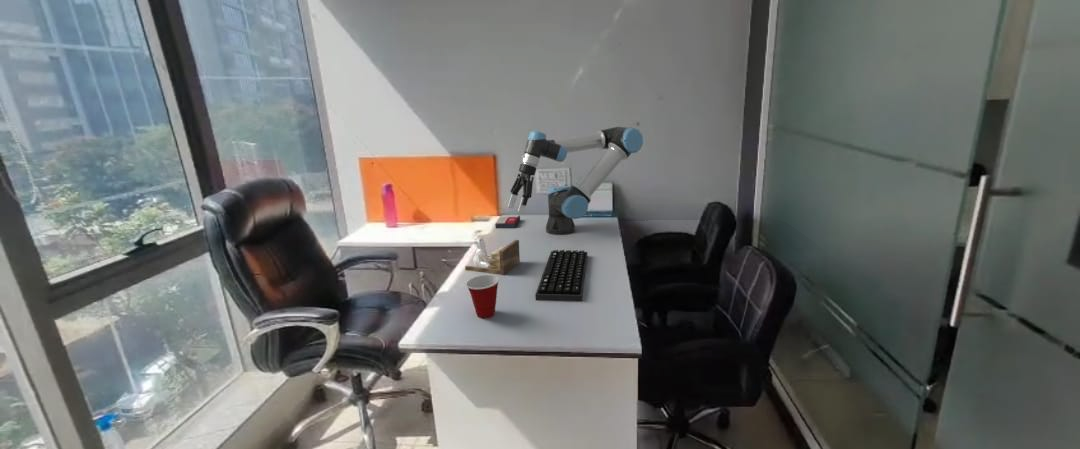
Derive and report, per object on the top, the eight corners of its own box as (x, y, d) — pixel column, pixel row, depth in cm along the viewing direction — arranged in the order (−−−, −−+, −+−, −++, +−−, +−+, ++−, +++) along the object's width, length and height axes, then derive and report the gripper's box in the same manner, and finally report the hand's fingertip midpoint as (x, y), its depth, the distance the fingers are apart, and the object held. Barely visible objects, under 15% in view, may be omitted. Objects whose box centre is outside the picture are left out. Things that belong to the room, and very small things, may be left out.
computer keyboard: (551, 257, 200) (550, 248, 199) (587, 257, 198) (587, 249, 197) (535, 301, 157) (535, 291, 156) (581, 303, 155) (581, 292, 154)
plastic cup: (469, 308, 153) (466, 274, 150) (501, 305, 154) (499, 272, 151) (467, 323, 143) (463, 288, 139) (501, 320, 143) (499, 285, 140)
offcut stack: (491, 271, 185) (489, 254, 183) (502, 263, 194) (501, 246, 192) (502, 273, 183) (501, 255, 181) (513, 264, 192) (512, 247, 190)
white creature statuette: (489, 269, 186) (487, 242, 183) (469, 269, 188) (467, 241, 185) (496, 261, 195) (494, 235, 192) (477, 261, 197) (475, 234, 194)
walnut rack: (464, 270, 187) (462, 247, 184) (482, 258, 200) (481, 236, 198) (504, 275, 180) (502, 251, 177) (519, 262, 193) (518, 240, 191)
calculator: (495, 222, 245) (500, 214, 259) (495, 230, 246) (501, 221, 260) (515, 222, 243) (519, 214, 257) (515, 230, 244) (520, 221, 258)
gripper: (512, 161, 216) (499, 204, 217) (532, 163, 194) (517, 211, 195) (526, 166, 219) (513, 208, 220) (547, 169, 197) (533, 216, 198)
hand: (515, 210), depth 208 cm, fingers open, 13 cm apart
